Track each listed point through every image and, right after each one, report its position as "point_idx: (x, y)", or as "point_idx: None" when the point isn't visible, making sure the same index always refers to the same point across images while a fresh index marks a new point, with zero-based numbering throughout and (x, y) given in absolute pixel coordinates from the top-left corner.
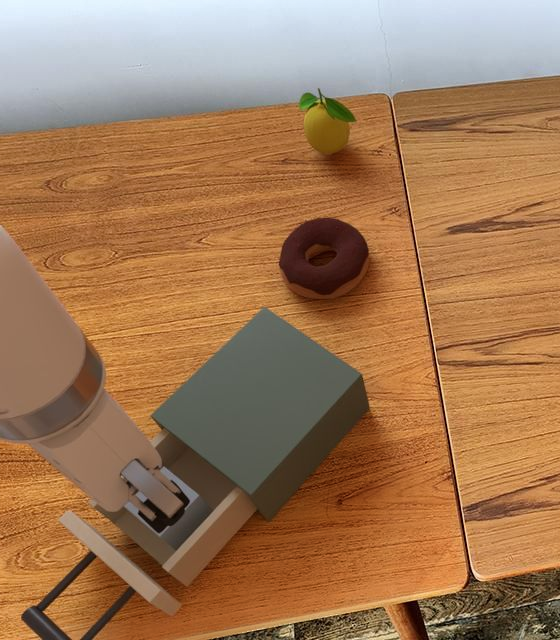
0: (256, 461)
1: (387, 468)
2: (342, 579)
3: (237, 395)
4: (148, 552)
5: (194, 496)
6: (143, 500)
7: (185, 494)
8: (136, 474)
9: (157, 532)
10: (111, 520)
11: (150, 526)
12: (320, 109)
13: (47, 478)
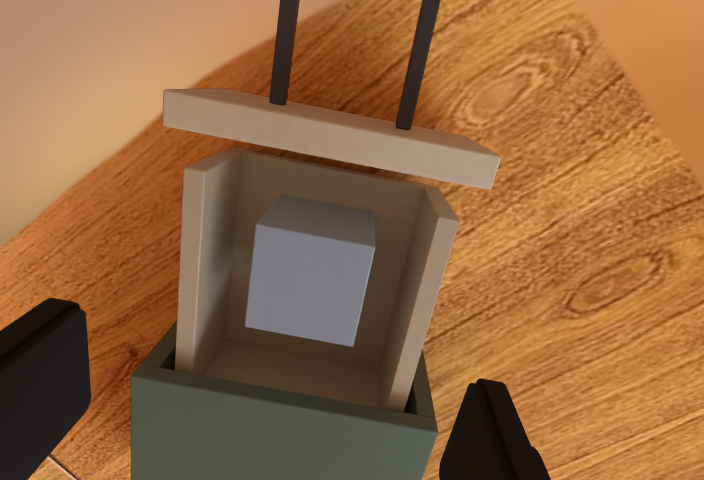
0: (172, 431)
1: (110, 415)
2: (46, 260)
3: None
4: (326, 170)
5: (251, 321)
6: (343, 274)
7: (271, 317)
8: None
9: (41, 303)
10: (424, 192)
11: (34, 325)
12: None
13: (611, 198)
